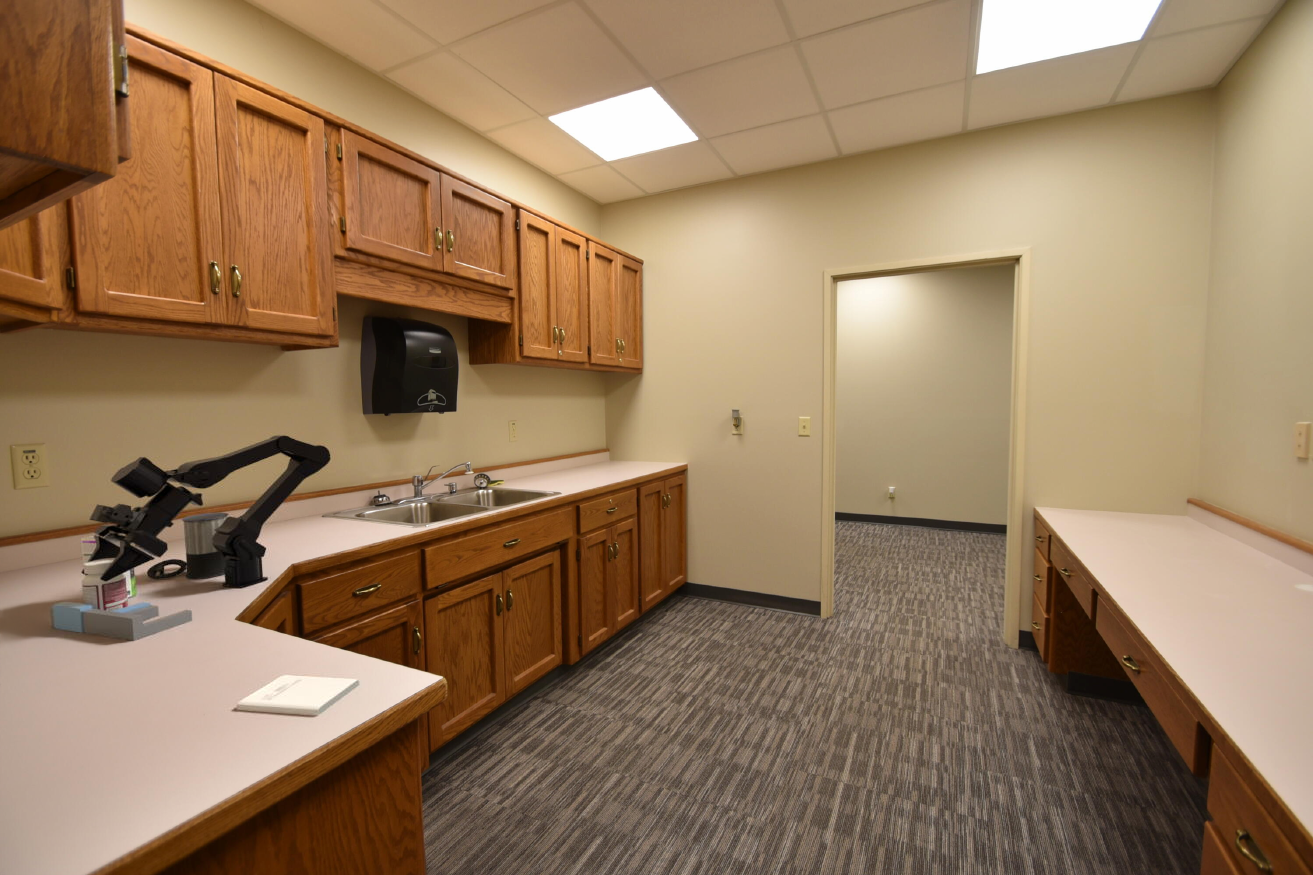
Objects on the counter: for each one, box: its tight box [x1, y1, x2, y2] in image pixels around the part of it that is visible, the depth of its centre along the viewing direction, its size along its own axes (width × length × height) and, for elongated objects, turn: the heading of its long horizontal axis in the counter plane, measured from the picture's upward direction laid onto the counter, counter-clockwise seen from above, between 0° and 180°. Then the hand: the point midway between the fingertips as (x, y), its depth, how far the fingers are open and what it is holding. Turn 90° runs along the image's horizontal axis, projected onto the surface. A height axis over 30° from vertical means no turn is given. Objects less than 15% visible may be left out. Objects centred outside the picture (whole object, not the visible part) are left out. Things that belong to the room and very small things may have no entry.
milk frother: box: [146, 512, 229, 580], centre depth 138 cm, size 14×16×15 cm
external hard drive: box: [236, 674, 360, 717], centre depth 78 cm, size 2×8×12 cm
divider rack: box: [49, 601, 193, 641], centre depth 107 cm, size 24×10×5 cm, turn 73°
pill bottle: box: [81, 558, 129, 611], centre depth 109 cm, size 6×6×11 cm
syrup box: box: [80, 534, 137, 599], centre depth 120 cm, size 6×6×14 cm
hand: (93, 577), depth 108 cm, fingers open, 9 cm apart
